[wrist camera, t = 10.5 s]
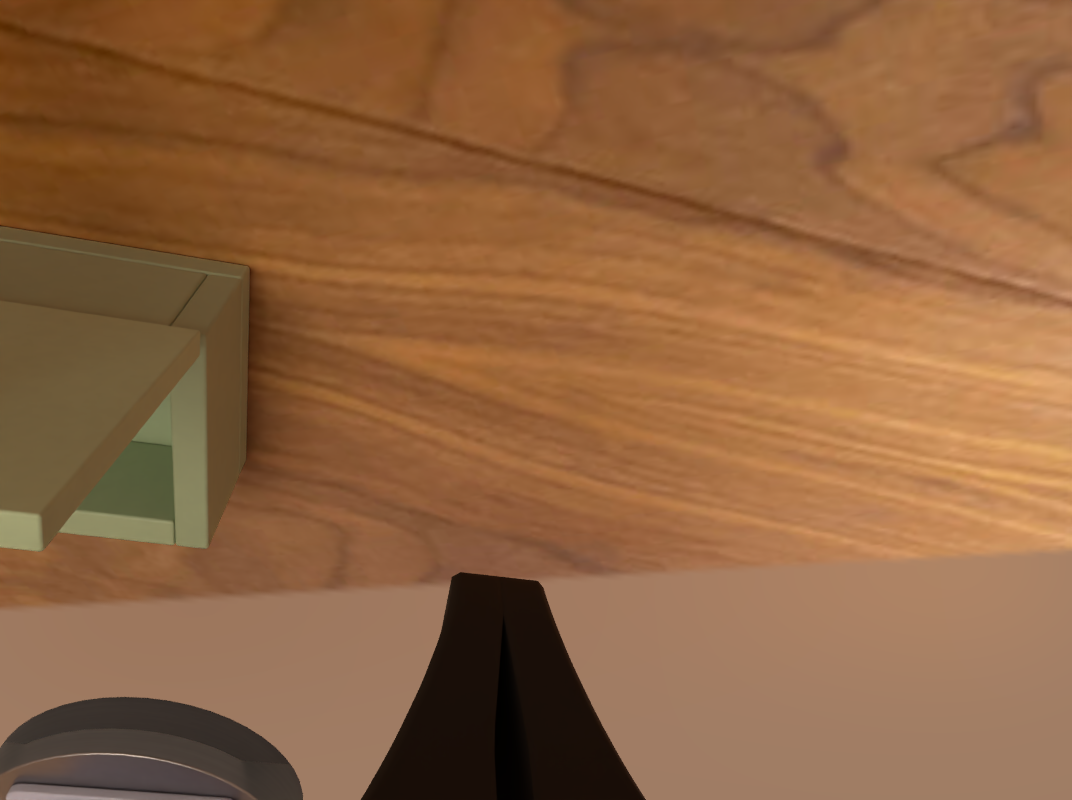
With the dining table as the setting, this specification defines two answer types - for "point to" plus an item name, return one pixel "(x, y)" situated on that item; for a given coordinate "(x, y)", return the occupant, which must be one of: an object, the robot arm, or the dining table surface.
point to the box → (190, 408)
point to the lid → (73, 407)
